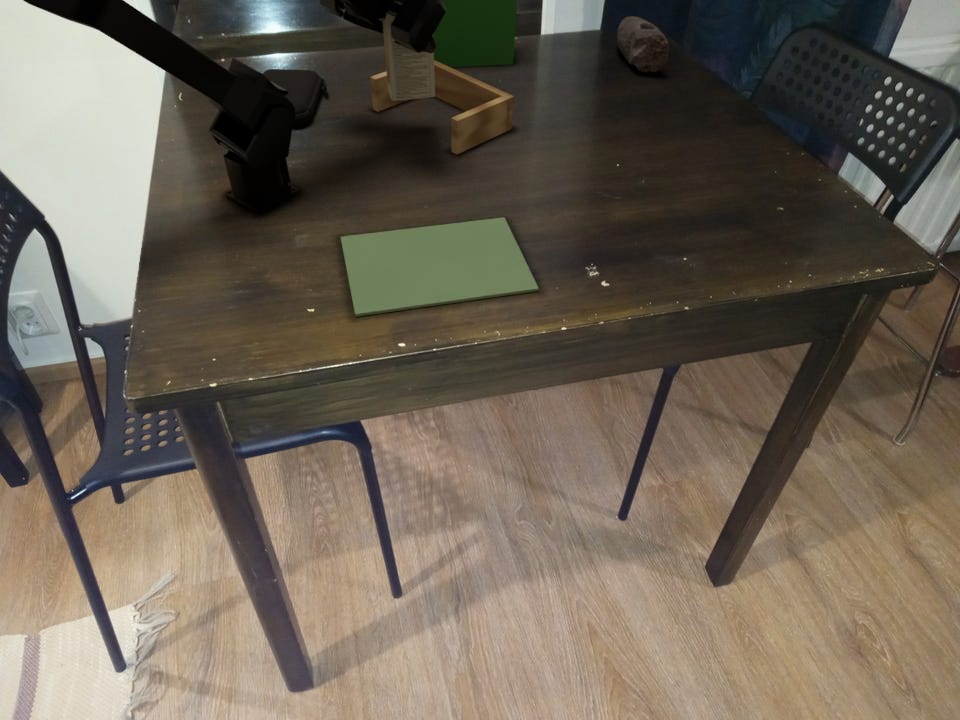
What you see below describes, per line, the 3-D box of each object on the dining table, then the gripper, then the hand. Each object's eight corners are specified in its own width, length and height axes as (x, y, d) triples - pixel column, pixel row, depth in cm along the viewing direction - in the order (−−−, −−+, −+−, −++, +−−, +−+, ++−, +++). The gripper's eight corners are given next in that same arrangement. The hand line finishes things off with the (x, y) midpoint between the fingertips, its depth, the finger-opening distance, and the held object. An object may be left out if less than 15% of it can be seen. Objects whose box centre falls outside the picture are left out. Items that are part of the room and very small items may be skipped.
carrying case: (317, 130, 100) (332, 85, 111) (314, 109, 98) (329, 66, 108) (242, 128, 100) (264, 84, 110) (238, 107, 98) (261, 64, 108)
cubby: (457, 154, 96) (457, 120, 93) (372, 109, 105) (370, 76, 102) (511, 129, 102) (514, 96, 99) (427, 88, 111) (426, 56, 107)
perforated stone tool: (605, 45, 126) (612, 4, 121) (633, 44, 126) (640, 3, 122) (636, 80, 115) (644, 37, 110) (665, 78, 116) (675, 35, 111)
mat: (355, 317, 72) (355, 314, 72) (340, 239, 82) (340, 236, 82) (538, 291, 76) (538, 288, 76) (504, 219, 86) (504, 217, 85)
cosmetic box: (430, 85, 99) (428, -8, 90) (436, 98, 96) (435, 3, 87) (384, 88, 98) (379, -6, 89) (389, 101, 95) (384, 5, 86)
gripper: (433, -83, 74) (499, 6, 87) (327, -116, 83) (402, -31, 96) (379, 13, 75) (453, 85, 89) (281, -30, 84) (361, 42, 98)
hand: (416, 42), depth 93 cm, fingers closed on cosmetic box, 6 cm apart
